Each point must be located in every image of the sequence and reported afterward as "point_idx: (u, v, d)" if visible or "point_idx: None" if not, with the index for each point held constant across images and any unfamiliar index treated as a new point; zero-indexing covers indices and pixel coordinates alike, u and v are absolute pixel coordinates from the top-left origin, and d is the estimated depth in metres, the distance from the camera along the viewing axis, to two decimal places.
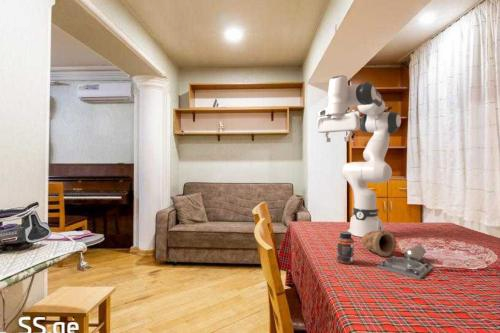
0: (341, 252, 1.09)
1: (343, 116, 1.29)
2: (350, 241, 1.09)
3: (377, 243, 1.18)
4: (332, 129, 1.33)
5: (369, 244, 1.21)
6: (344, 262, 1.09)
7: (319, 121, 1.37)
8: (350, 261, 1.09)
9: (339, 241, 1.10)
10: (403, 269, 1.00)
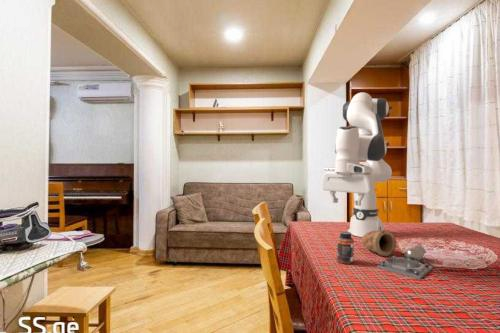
0: (341, 252, 1.09)
1: None
2: (350, 241, 1.09)
3: (377, 243, 1.18)
4: None
5: (369, 244, 1.22)
6: (344, 262, 1.09)
7: None
8: (350, 261, 1.09)
9: (339, 241, 1.10)
10: (403, 269, 1.00)
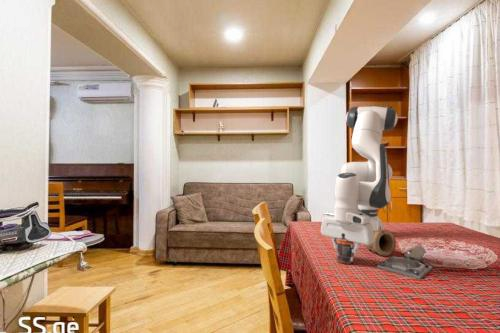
0: (341, 252, 1.09)
1: None
2: (350, 241, 1.09)
3: (377, 242, 1.19)
4: None
5: (369, 244, 1.22)
6: (344, 262, 1.09)
7: None
8: (350, 261, 1.09)
9: (339, 241, 1.10)
10: (403, 269, 1.00)
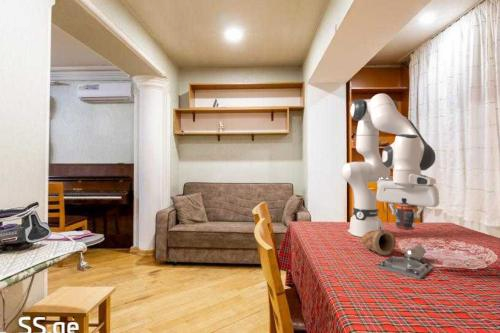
0: (402, 217, 1.03)
1: None
2: (412, 206, 1.03)
3: (377, 242, 1.19)
4: None
5: (369, 243, 1.23)
6: (406, 228, 1.03)
7: None
8: (412, 227, 1.03)
9: (400, 206, 1.04)
10: (403, 269, 1.00)
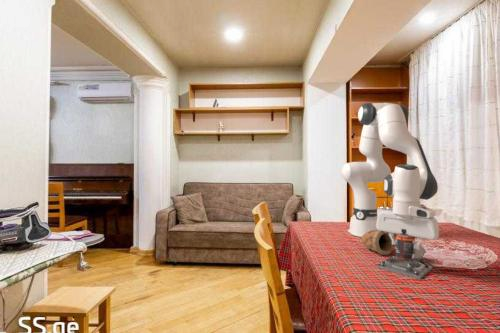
0: (402, 248, 1.03)
1: None
2: (412, 237, 1.03)
3: (377, 242, 1.20)
4: None
5: (369, 243, 1.23)
6: (406, 260, 1.03)
7: None
8: (412, 258, 1.03)
9: (399, 237, 1.04)
10: (403, 269, 1.00)
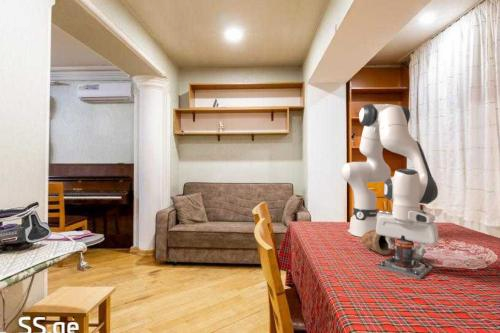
0: (401, 255, 1.04)
1: None
2: (411, 243, 1.03)
3: (377, 242, 1.20)
4: None
5: (369, 243, 1.23)
6: (405, 266, 1.03)
7: None
8: (411, 265, 1.03)
9: (399, 243, 1.04)
10: (403, 269, 1.00)
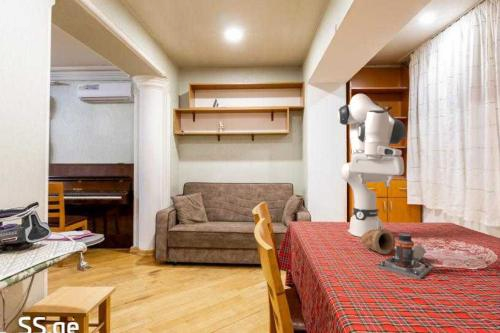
0: (401, 255, 1.03)
1: None
2: (411, 243, 1.03)
3: (377, 241, 1.20)
4: None
5: (369, 242, 1.24)
6: (405, 266, 1.03)
7: None
8: (411, 265, 1.03)
9: (399, 243, 1.04)
10: (403, 269, 1.00)
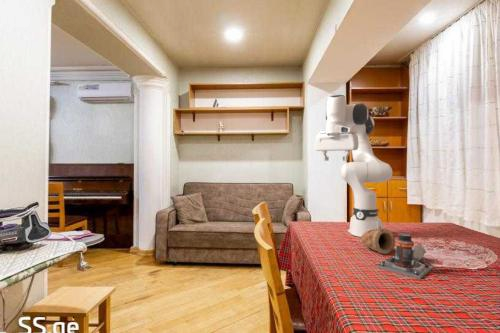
0: (401, 255, 1.03)
1: None
2: (411, 243, 1.03)
3: (377, 241, 1.21)
4: None
5: (369, 242, 1.24)
6: (405, 266, 1.03)
7: None
8: (411, 265, 1.03)
9: (399, 243, 1.04)
10: (403, 269, 1.00)
